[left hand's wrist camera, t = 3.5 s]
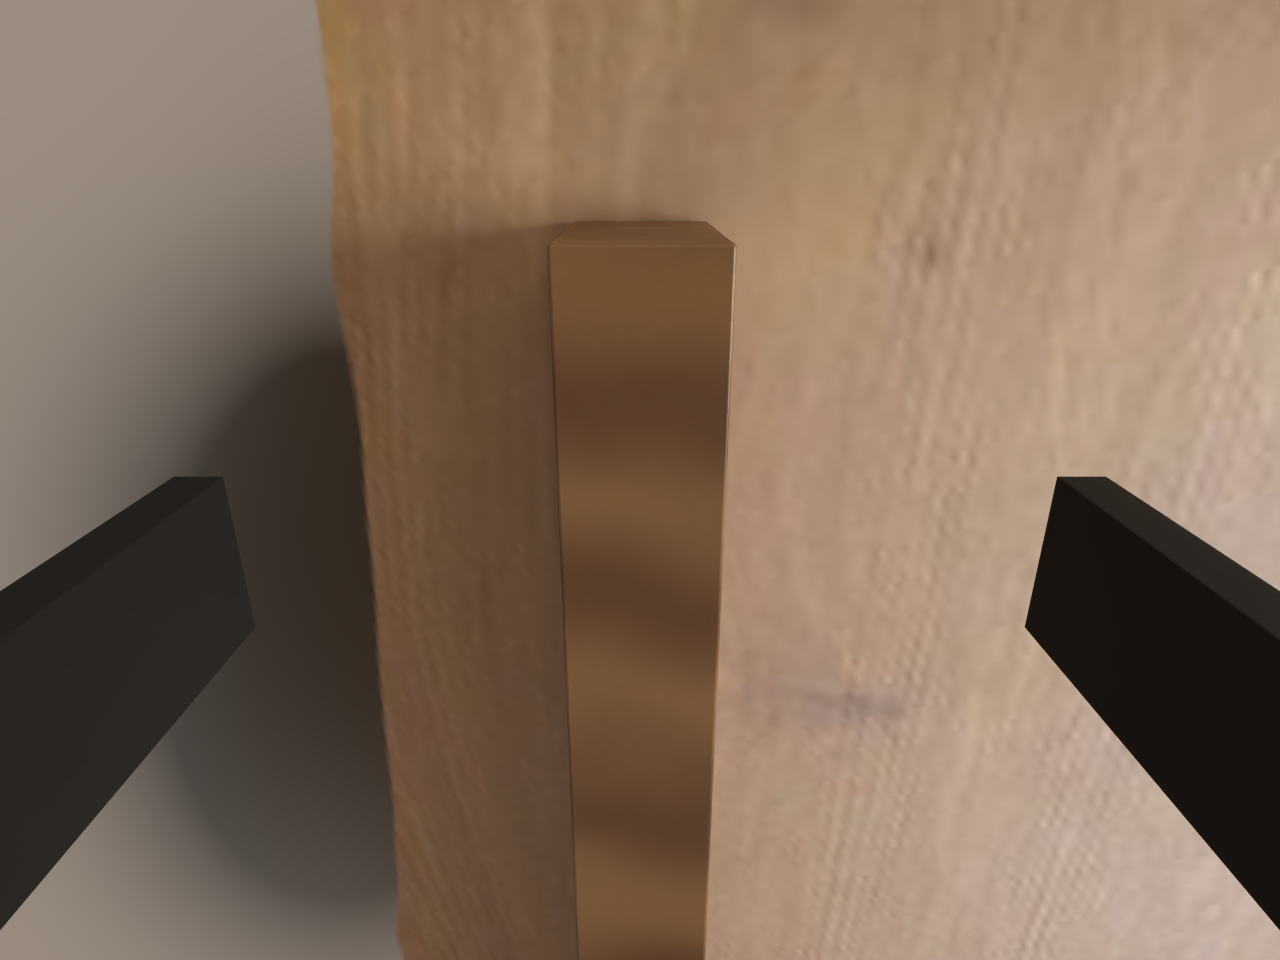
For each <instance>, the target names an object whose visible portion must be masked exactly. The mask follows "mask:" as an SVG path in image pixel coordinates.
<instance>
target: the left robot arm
mask: <svg viewBox="0 0 1280 960" xmlns="http://www.w3.org/2000/svg"><path fill="white" fill-rule="evenodd" d="M254 628H255V624H254V619H253V615H252V610H251V606H250V601H249V596H248V592H247V587H246V582H245V578H244V573H243V568H242V564H241V559H240V555H239V550H238V545H237V541H236V536H235V531H234V527H233V522H232V518H231V513H230V508H229V504H228V499H227V494H226V490H225V485H224V480H223V477H173V478H171V479H170V480H168V481H167V482H165V483H164V484H162V485H161V486H159V487H158V488H156V489H155V490H153V491H152V492H150V493H149V494H147V495H146V496H144V497H143V498H141V499H140V500H138V501H136V502H135V503H134V504H132V505H130V506H129V507H127V508H126V509H124V510H123V511H121V512H120V513H118V514H117V515H115V516H114V517H112V518H111V519H109V520H108V521H106V522H105V523H103V524H102V525H100V526H99V527H97V528H96V529H94V530H92V531H91V532H89V533H88V534H86V535H85V536H83V537H82V538H80V539H79V540H77V541H76V542H74V543H73V544H71V545H70V546H68V547H67V548H65V549H64V550H62V551H61V552H59V553H58V554H56V555H55V556H53V557H52V558H50V559H48V560H47V561H45V562H44V563H42V564H41V565H39V566H38V567H36V568H35V569H33V570H32V571H30V572H29V573H27V574H26V575H24V576H23V577H21V578H20V579H18V580H17V581H15V582H14V583H12V584H11V585H9V586H8V587H6V588H5V589H3V590H1V591H0V930H1V929H2V927H3V926H4V925H5V924H6V923H7V921H8V920H9V919H10V918H11V917H12V915H13V914H14V913H15V912H16V911H17V910H18V908H19V907H20V906H21V905H22V904H23V902H24V901H25V900H26V899H27V898H28V896H29V895H30V894H31V893H32V892H33V891H34V889H35V888H36V887H37V886H38V885H39V883H40V882H41V881H42V880H43V879H44V877H45V876H46V875H47V874H48V873H49V871H50V870H51V869H52V868H53V867H54V866H55V864H56V863H57V862H58V861H59V860H60V858H61V857H62V856H63V855H64V854H65V852H66V851H67V850H68V849H69V848H70V847H71V845H72V844H73V843H74V842H75V841H76V839H77V838H78V837H79V836H80V835H81V833H82V832H83V831H84V830H85V829H86V827H87V826H88V825H89V824H90V823H91V822H92V820H93V819H94V818H95V817H96V816H97V814H98V813H99V812H100V811H101V810H102V808H103V807H104V806H105V805H106V804H107V802H108V801H109V800H110V799H111V798H112V797H113V795H114V794H115V793H116V792H117V791H118V789H119V788H120V787H121V786H122V785H123V784H124V782H125V781H126V780H127V779H128V778H129V776H130V775H131V774H132V773H133V772H134V770H135V769H136V768H137V767H138V766H139V764H140V763H141V762H142V761H143V760H144V759H145V757H146V756H147V755H148V754H149V753H150V751H151V750H152V749H153V748H154V747H155V746H156V744H157V743H158V742H159V741H160V740H161V738H162V737H163V736H164V735H165V734H166V732H167V731H168V730H169V729H170V728H171V727H172V725H173V724H174V723H175V722H176V721H177V719H178V718H179V717H180V716H181V715H182V713H183V712H184V711H185V710H186V709H187V707H188V706H189V705H190V704H191V703H192V702H193V700H194V699H195V698H196V697H197V696H198V694H199V693H200V692H201V691H202V690H203V688H204V687H205V686H206V685H207V684H208V683H209V681H210V680H211V679H212V678H213V676H214V675H215V674H216V673H217V672H218V671H219V669H220V668H221V667H222V666H223V665H224V664H225V662H226V661H227V660H228V659H229V658H230V656H231V655H232V654H233V653H234V652H235V650H236V649H237V648H238V647H239V646H240V644H241V643H242V642H243V641H244V640H245V639H246V637H247V636H248V635H249V634H250V633H251V631H252V630H253V629H254ZM1025 628H1026V629H1027V630H1028V631H1029V633H1030V634H1031V635H1032V636H1033V637H1034V639H1035V640H1036V641H1037V642H1038V643H1039V644H1040V646H1041V647H1042V648H1043V649H1044V650H1045V652H1046V653H1047V654H1048V655H1049V656H1050V658H1051V659H1052V660H1053V661H1054V662H1055V664H1056V665H1057V666H1058V667H1059V668H1060V669H1061V671H1062V672H1063V673H1064V674H1065V675H1066V677H1067V678H1068V679H1069V680H1070V681H1071V683H1072V684H1073V685H1074V686H1075V687H1076V688H1077V690H1078V691H1079V692H1080V693H1081V694H1082V696H1083V697H1084V698H1085V699H1086V700H1087V702H1088V703H1089V704H1090V705H1091V706H1092V707H1093V709H1094V710H1095V711H1096V712H1097V713H1098V715H1099V716H1100V717H1101V718H1102V719H1103V721H1104V722H1105V723H1106V724H1107V725H1108V727H1109V728H1110V729H1111V730H1112V731H1113V732H1114V734H1115V735H1116V736H1117V737H1118V738H1119V740H1120V741H1121V742H1122V743H1123V744H1124V746H1125V747H1126V748H1127V749H1128V750H1129V751H1130V753H1131V754H1132V755H1133V756H1134V757H1135V759H1136V760H1137V761H1138V762H1139V763H1140V765H1141V766H1142V767H1143V768H1144V769H1145V770H1146V772H1147V773H1148V774H1149V775H1150V776H1151V778H1152V779H1153V780H1154V781H1155V782H1156V784H1157V785H1158V786H1159V787H1160V788H1161V789H1162V791H1163V792H1164V793H1165V794H1166V795H1167V797H1168V798H1169V799H1170V800H1171V801H1172V803H1173V804H1174V805H1175V806H1176V807H1177V809H1178V810H1179V811H1180V812H1181V813H1182V814H1183V816H1184V817H1185V818H1186V819H1187V820H1188V822H1189V823H1190V824H1191V825H1192V826H1193V828H1194V829H1195V830H1196V831H1197V832H1198V833H1199V835H1200V836H1201V837H1202V838H1203V839H1204V841H1205V842H1206V843H1207V844H1208V845H1209V847H1210V848H1211V849H1212V850H1213V851H1214V852H1215V854H1216V855H1217V856H1218V857H1219V858H1220V860H1221V861H1222V862H1223V863H1224V864H1225V866H1226V867H1227V868H1228V869H1229V870H1230V872H1231V873H1232V874H1233V875H1234V876H1235V877H1236V879H1237V880H1238V881H1239V882H1240V883H1241V885H1242V886H1243V887H1244V888H1245V889H1246V891H1247V892H1248V893H1249V894H1250V895H1251V896H1252V898H1253V899H1254V900H1255V901H1256V902H1257V904H1258V905H1259V906H1260V907H1261V908H1262V910H1263V911H1264V912H1265V913H1266V914H1267V915H1268V917H1269V918H1270V919H1271V920H1272V921H1273V923H1274V924H1275V925H1276V926H1277V927H1278V929H1279V930H1280V591H1279V590H1277V589H1276V588H1274V587H1272V586H1271V585H1269V584H1268V583H1266V582H1265V581H1263V580H1262V579H1260V578H1259V577H1257V576H1256V575H1254V574H1253V573H1251V572H1250V571H1248V570H1247V569H1245V568H1244V567H1242V566H1241V565H1239V564H1238V563H1236V562H1235V561H1233V560H1232V559H1230V558H1228V557H1227V556H1225V555H1224V554H1222V553H1221V552H1219V551H1218V550H1216V549H1215V548H1213V547H1212V546H1210V545H1209V544H1207V543H1206V542H1204V541H1203V540H1201V539H1200V538H1198V537H1197V536H1195V535H1194V534H1192V533H1191V532H1189V531H1188V530H1186V529H1184V528H1183V527H1181V526H1180V525H1178V524H1177V523H1175V522H1174V521H1172V520H1171V519H1169V518H1168V517H1166V516H1165V515H1163V514H1162V513H1160V512H1159V511H1157V510H1156V509H1154V508H1153V507H1151V506H1150V505H1148V504H1147V503H1145V502H1144V501H1142V500H1140V499H1139V498H1137V497H1136V496H1134V495H1133V494H1131V493H1130V492H1128V491H1127V490H1125V489H1124V488H1122V487H1121V486H1119V485H1118V484H1116V483H1115V482H1113V481H1112V480H1110V479H1109V478H1107V477H1057V480H1056V485H1055V490H1054V494H1053V499H1052V504H1051V508H1050V513H1049V517H1048V522H1047V527H1046V531H1045V536H1044V541H1043V545H1042V550H1041V555H1040V559H1039V564H1038V568H1037V573H1036V578H1035V582H1034V587H1033V592H1032V596H1031V601H1030V606H1029V610H1028V615H1027V619H1026V624H1025Z"/></svg>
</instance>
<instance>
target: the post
mask: <svg viewBox="0 0 1280 960" xmlns="http://www.w3.org/2000/svg"><path fill="white" fill-rule="evenodd" d="M547 252H548V275H549V298H550V322H551V345H552V368H553V392H554V415H555V438H556V462H557V485H558V508H559V532H560V555H561V578H562V602H563V625H564V648H565V672H566V695H567V718H568V742H569V765H570V788H571V811H572V835H573V858H574V881H575V905H576V928H577V951H578V960H705V945H706V923H707V901H708V878H709V856H710V834H711V811H712V789H713V767H714V744H715V722H716V700H717V677H718V655H719V633H720V610H721V588H722V565H723V543H724V521H725V498H726V476H727V454H728V431H729V409H730V387H731V364H732V342H733V320H734V297H735V275H736V253H737V247H736V245H735V244H734V243H733V242H732V241H730V240H729V239H728V238H726V237H725V236H724V235H723V234H721V233H720V232H719V231H718V230H716V229H715V228H714V227H713V226H711V225H710V224H709V223H707V222H575V223H574V224H573V225H572V226H571V227H569V228H568V229H567V230H566V231H565V232H563V233H562V234H561V235H560V236H558V237H557V238H556V239H555V240H554V241H552V242H551V243H550V244H549V245H548V247H547Z"/></svg>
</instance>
